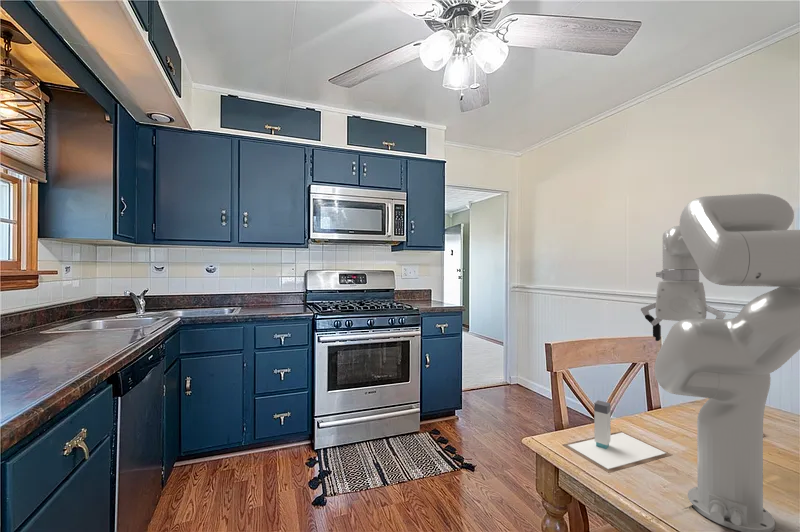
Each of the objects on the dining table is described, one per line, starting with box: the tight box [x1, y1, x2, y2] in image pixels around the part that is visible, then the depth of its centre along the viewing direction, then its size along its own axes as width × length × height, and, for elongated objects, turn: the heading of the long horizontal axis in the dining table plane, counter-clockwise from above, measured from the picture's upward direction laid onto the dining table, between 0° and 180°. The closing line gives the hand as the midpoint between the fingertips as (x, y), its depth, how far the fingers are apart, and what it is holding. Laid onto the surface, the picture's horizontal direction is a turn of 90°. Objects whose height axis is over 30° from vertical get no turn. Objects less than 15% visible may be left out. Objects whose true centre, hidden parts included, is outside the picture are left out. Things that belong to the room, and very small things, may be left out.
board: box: [562, 430, 673, 474], centre depth 94 cm, size 22×14×1 cm, turn 111°
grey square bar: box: [593, 400, 612, 449], centre depth 95 cm, size 3×3×11 cm
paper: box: [568, 432, 666, 470], centre depth 94 cm, size 20×12×1 cm, turn 111°
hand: (680, 342), depth 94 cm, fingers open, 9 cm apart
